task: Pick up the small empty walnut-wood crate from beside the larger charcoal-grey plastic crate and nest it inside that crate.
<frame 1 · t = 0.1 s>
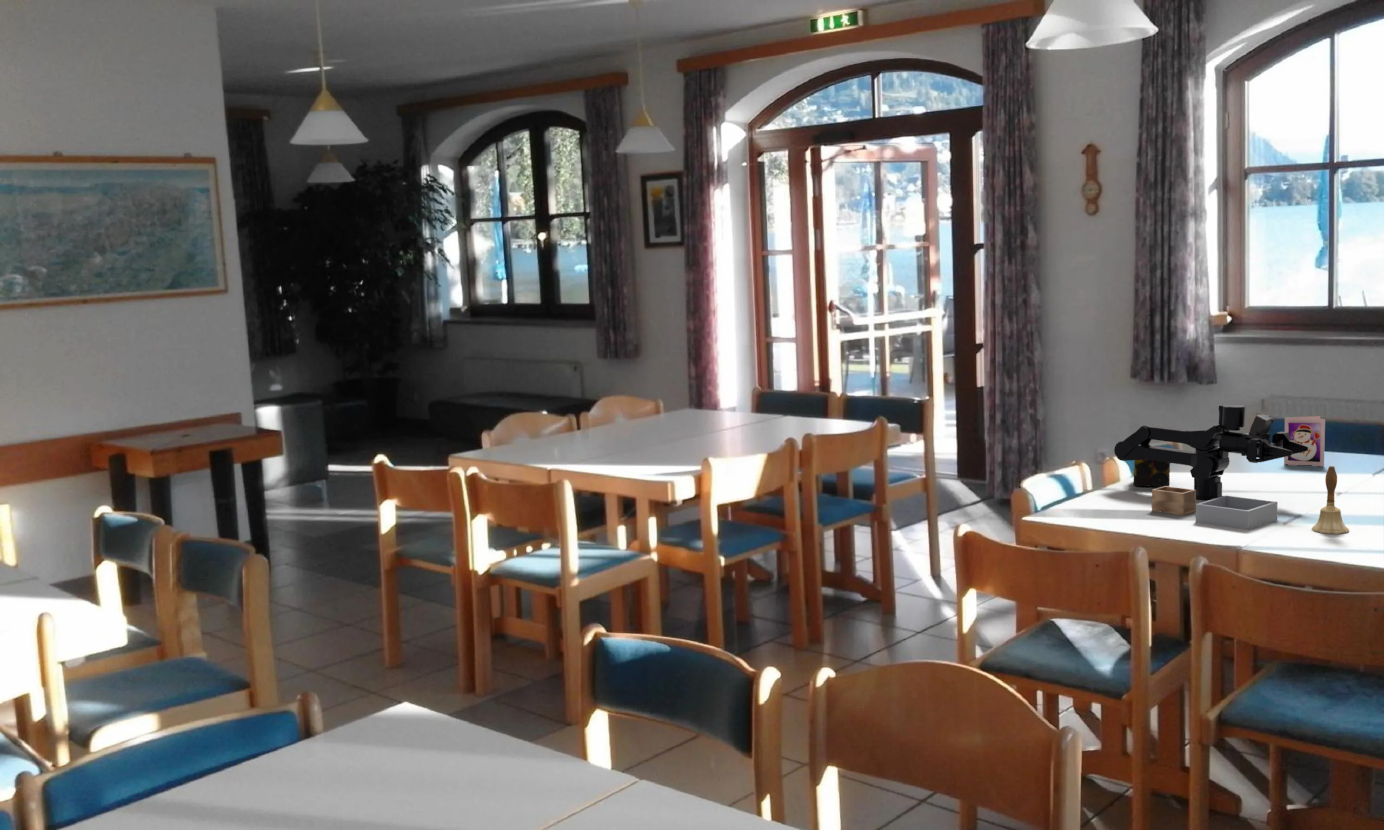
hand: (1300, 451, 343), 16 cm above the table, tool horizontal, fingers open, 9 cm apart
greeting card: (1304, 464, 409), on the table
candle: (1151, 484, 386), on the table, touching arm
hand bell: (1330, 531, 320), on the table
walnut crate: (1173, 511, 349), on the table
grey crate: (1236, 522, 335), on the table
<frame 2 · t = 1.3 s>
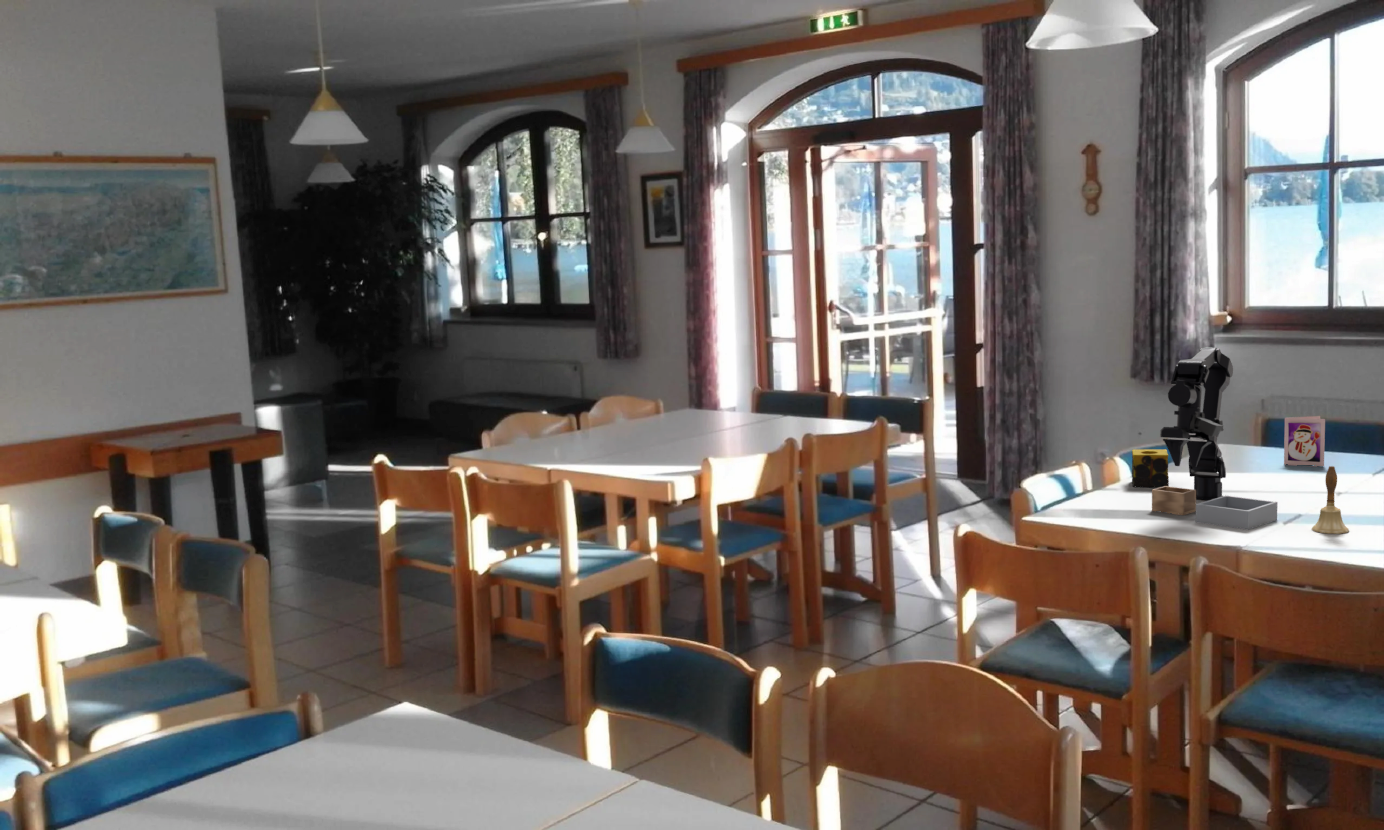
hand: (1185, 466, 345), 12 cm above the table, tool pointing down, fingers open, 9 cm apart
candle: (1150, 485, 386), on the table
everything else where it was.
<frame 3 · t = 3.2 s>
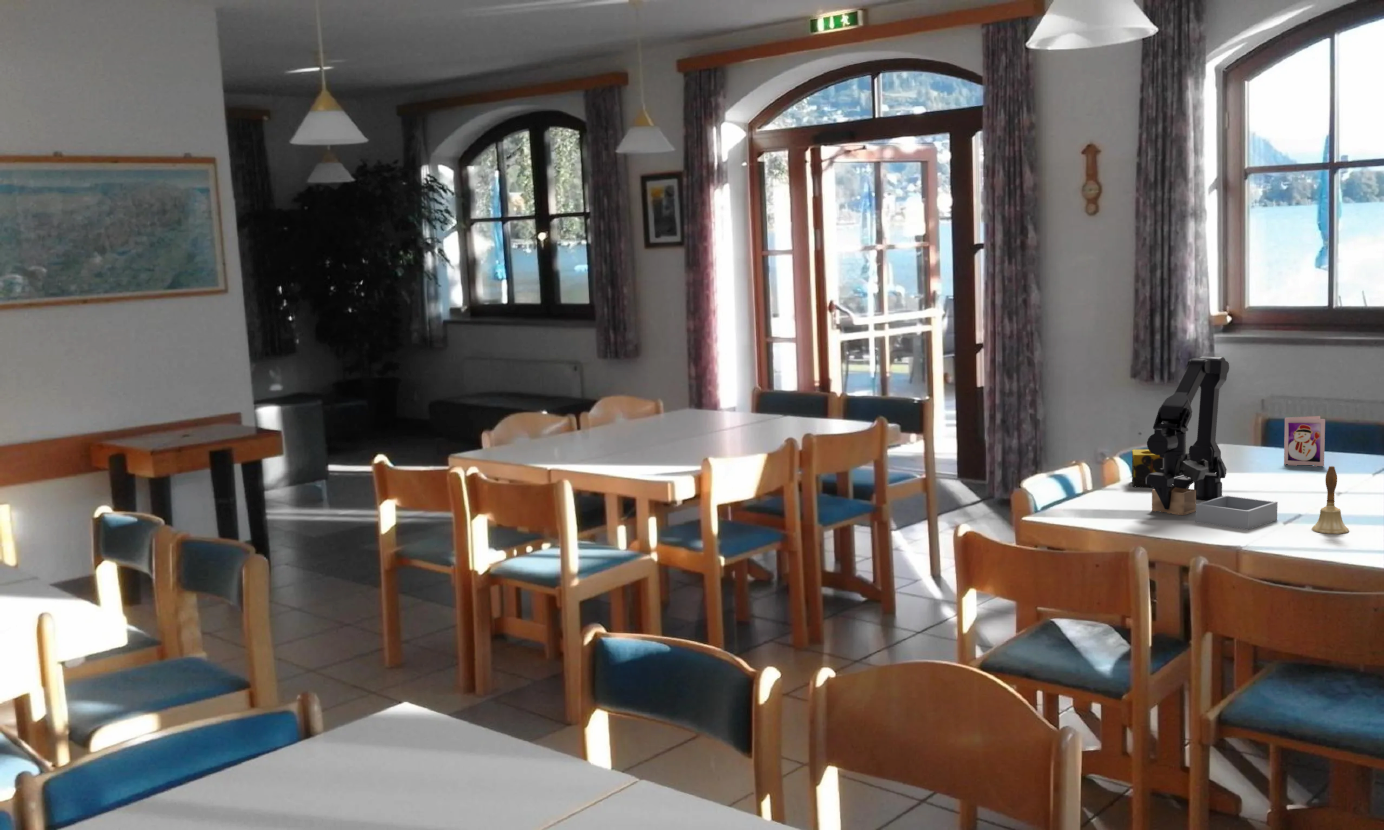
hand: (1173, 507, 349), 1 cm above the table, tool pointing down, fingers closed on walnut crate, 6 cm apart
walnut crate: (1173, 511, 349), on the table, touching gripper
everything else where it was.
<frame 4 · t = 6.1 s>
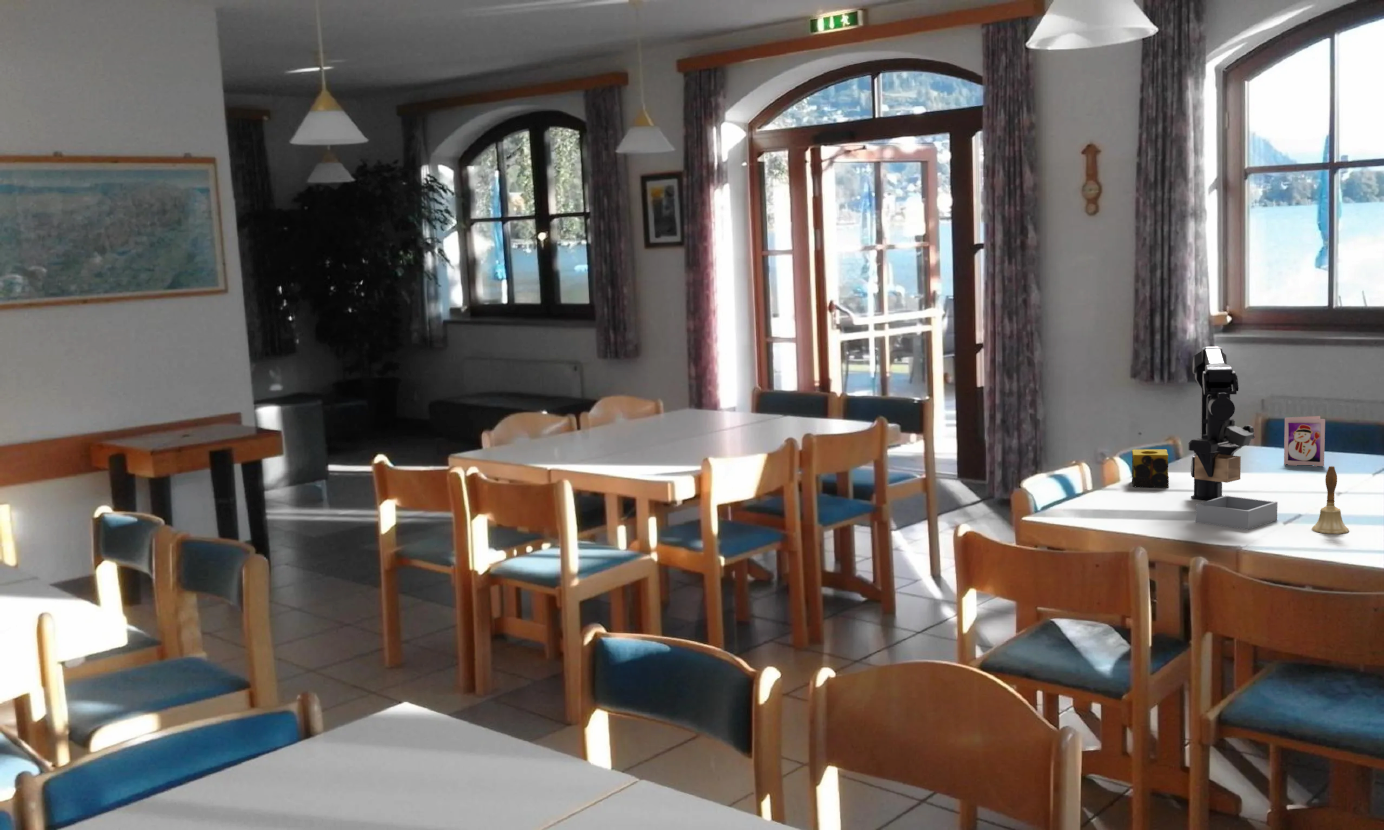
hand: (1217, 475, 337), 11 cm above the table, tool pointing down, fingers closed on walnut crate, 6 cm apart
walnut crate: (1217, 479, 337), point 10 cm above the table, touching gripper
everything else where it was.
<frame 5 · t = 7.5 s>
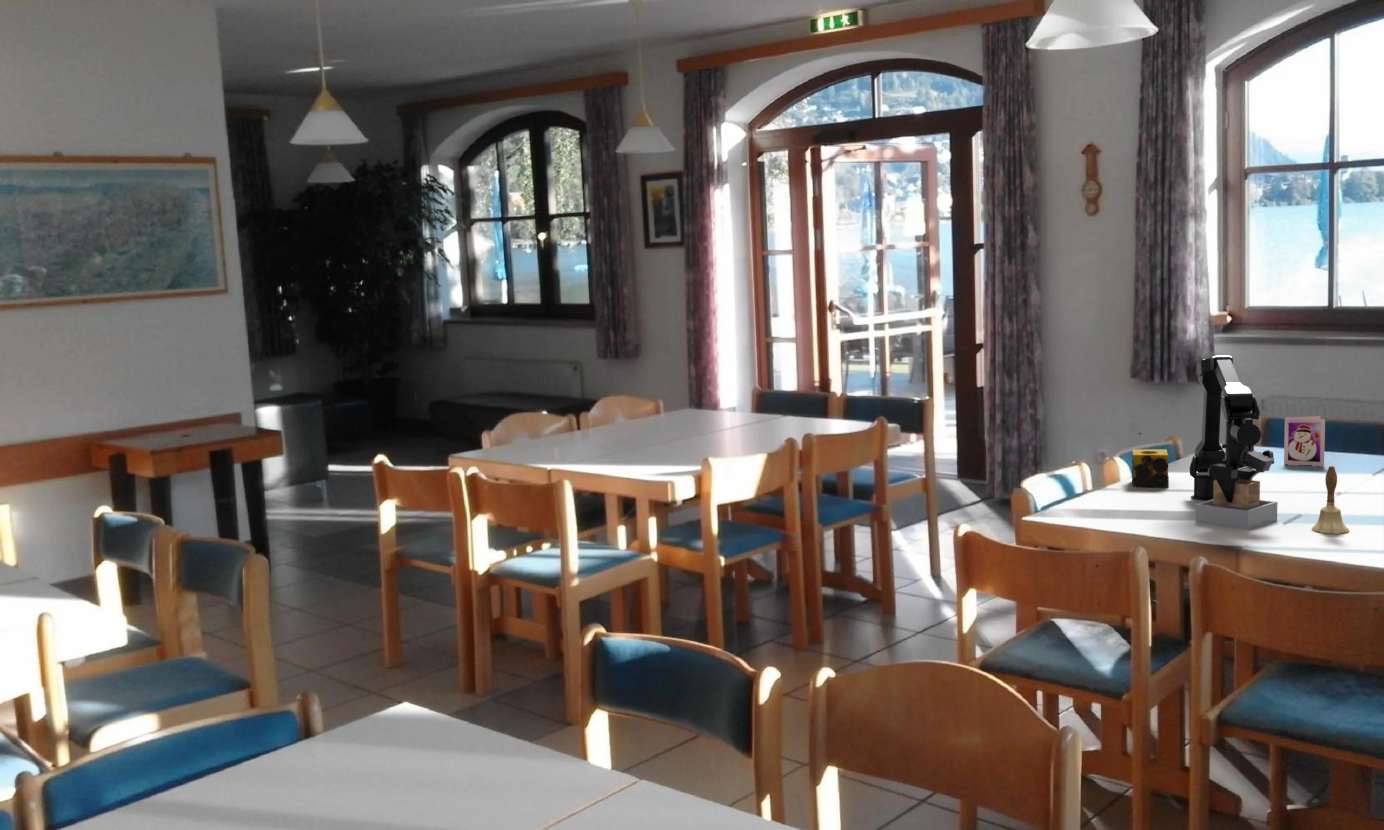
hand: (1236, 500, 334), 5 cm above the table, tool pointing down, fingers closed on walnut crate, 6 cm apart
walnut crate: (1236, 503, 334), point 4 cm above the table, touching gripper
everything else where it was.
when the fingers open (4 cm above the table, at t = 8.6 s): walnut crate drops 3 cm, resting on grey crate.
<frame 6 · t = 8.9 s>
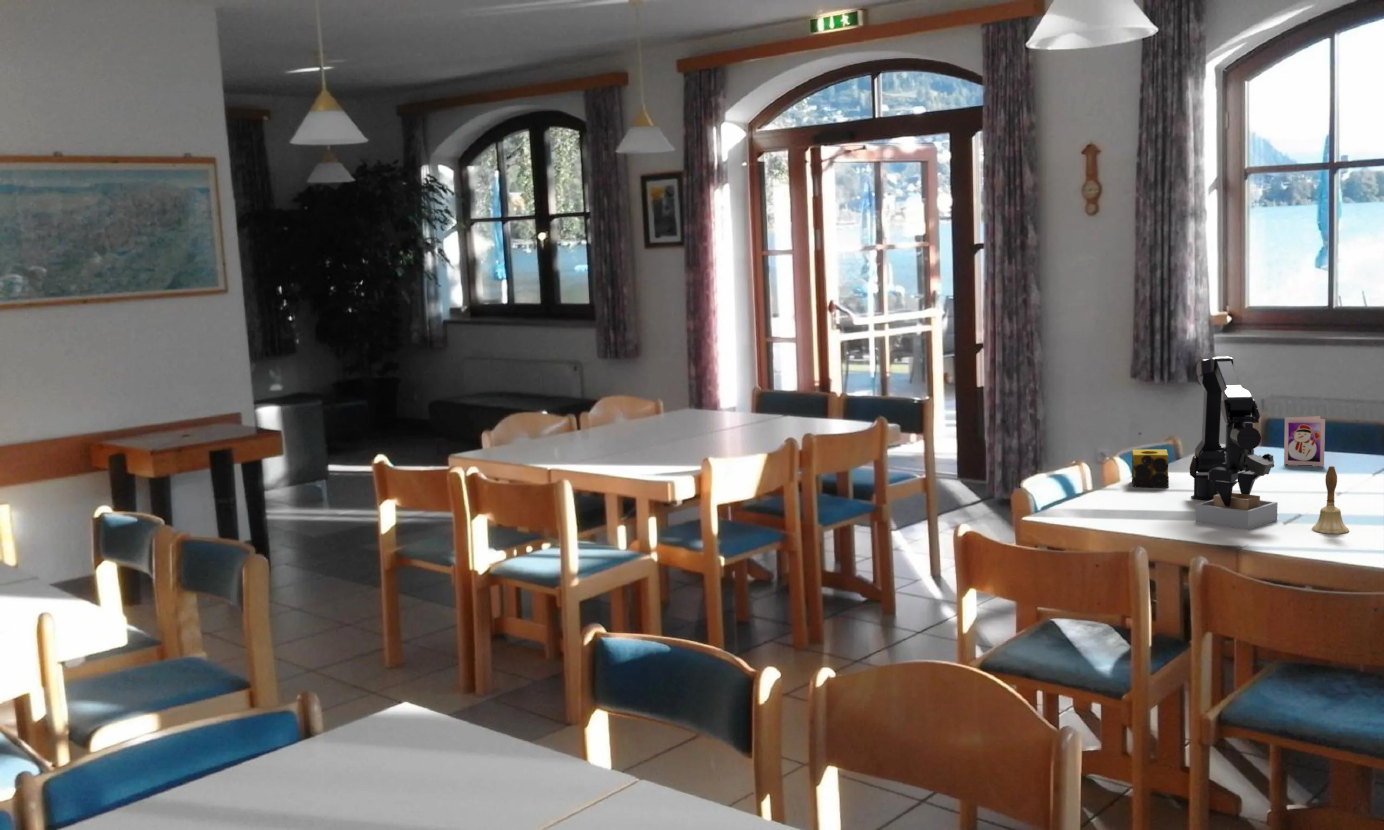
hand: (1236, 503, 334), 4 cm above the table, tool pointing down, fingers open, 9 cm apart
walnut crate: (1236, 518, 335), point 1 cm above the table, touching grey crate
grey crate: (1236, 522, 335), on the table, touching walnut crate
everything else where it was.
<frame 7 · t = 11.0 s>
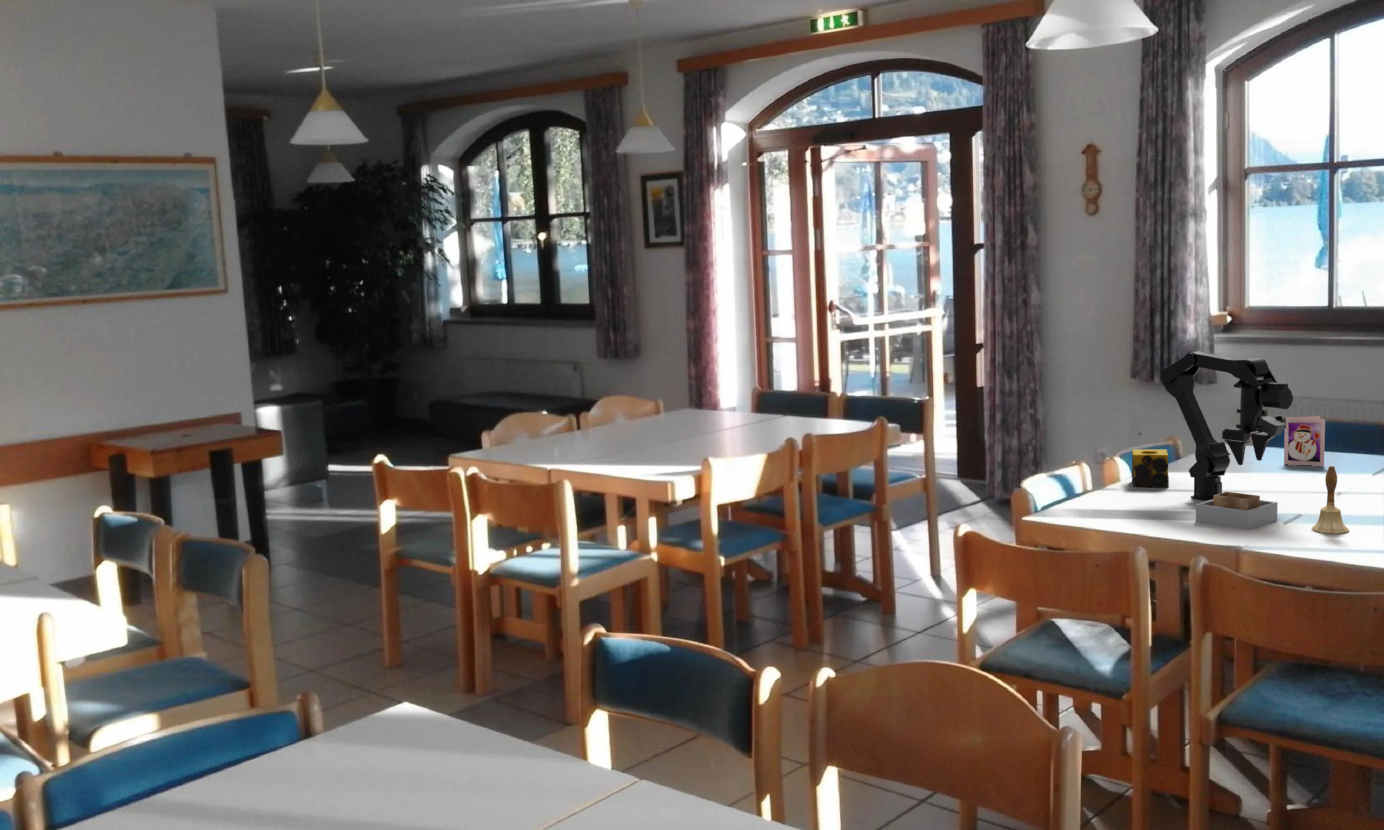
hand: (1249, 462, 351), 12 cm above the table, tool pointing down, fingers open, 9 cm apart
walnut crate: (1236, 518, 335), point 1 cm above the table
grey crate: (1236, 522, 335), on the table
everything else where it was.
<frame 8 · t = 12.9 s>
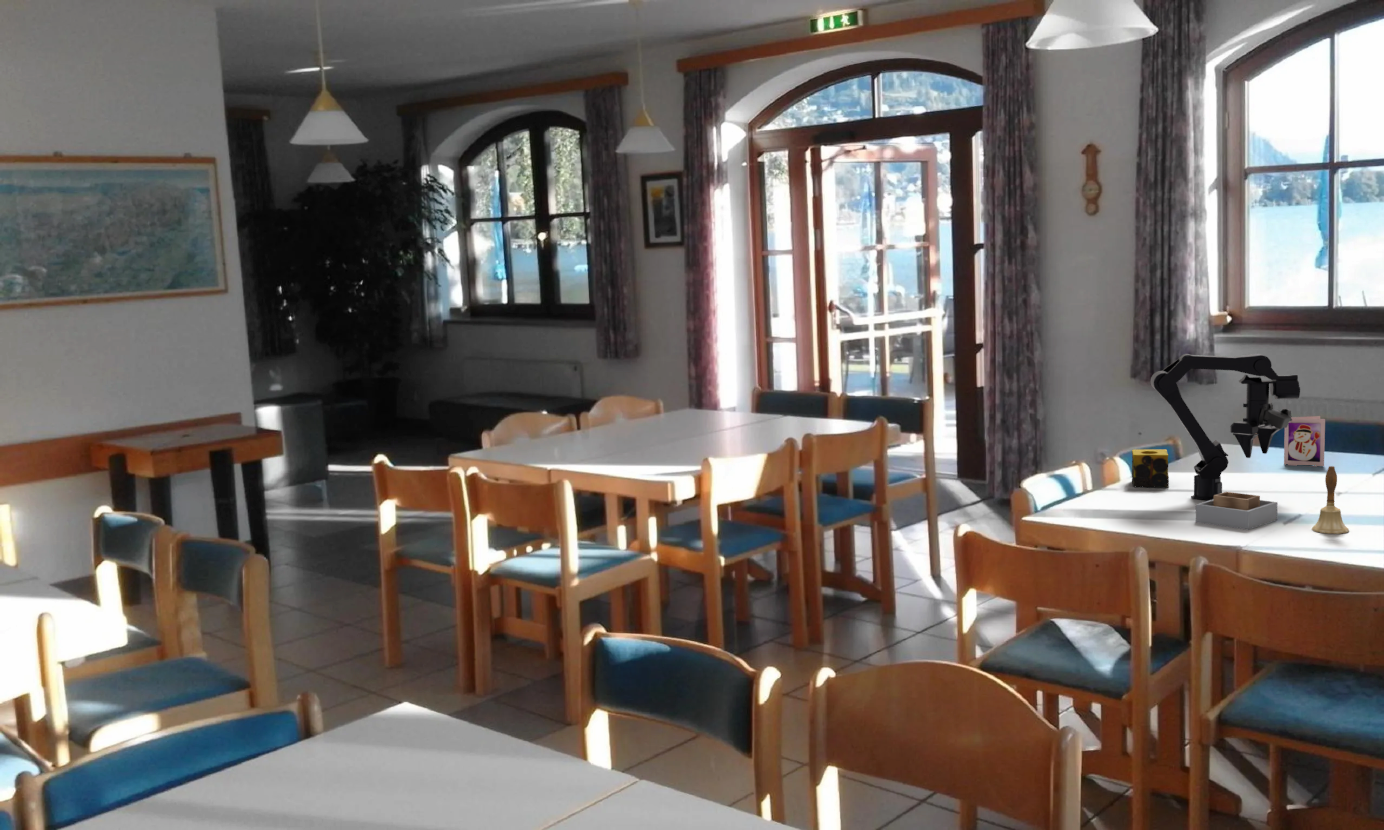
hand: (1256, 455, 360), 12 cm above the table, tool pointing down, fingers open, 9 cm apart
walnut crate: (1236, 518, 335), point 1 cm above the table, touching grey crate
grey crate: (1236, 522, 335), on the table, touching walnut crate
everything else where it was.
at the end: walnut crate 0.1 cm off-centre on the grey crate, point 1.0 cm above the grey crate's base; walnut crate tilted 0°; the gripper is holding nothing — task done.
